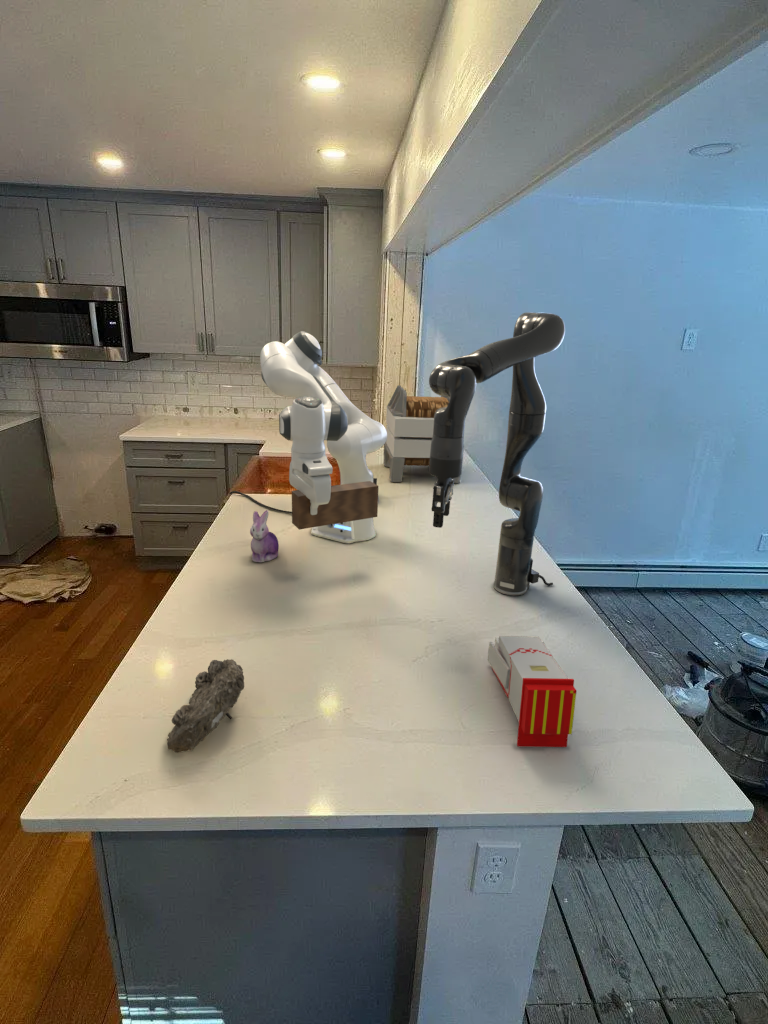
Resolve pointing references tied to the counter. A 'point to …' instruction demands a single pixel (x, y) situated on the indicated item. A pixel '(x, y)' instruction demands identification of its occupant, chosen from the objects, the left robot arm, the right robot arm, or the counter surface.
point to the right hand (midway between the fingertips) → (441, 520)
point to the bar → (337, 505)
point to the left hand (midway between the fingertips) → (308, 510)
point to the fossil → (206, 705)
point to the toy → (534, 690)
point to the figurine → (262, 539)
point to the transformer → (410, 431)
